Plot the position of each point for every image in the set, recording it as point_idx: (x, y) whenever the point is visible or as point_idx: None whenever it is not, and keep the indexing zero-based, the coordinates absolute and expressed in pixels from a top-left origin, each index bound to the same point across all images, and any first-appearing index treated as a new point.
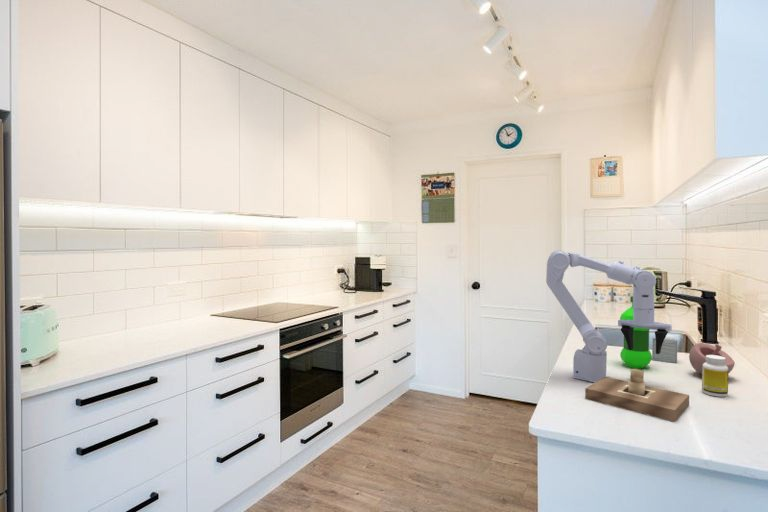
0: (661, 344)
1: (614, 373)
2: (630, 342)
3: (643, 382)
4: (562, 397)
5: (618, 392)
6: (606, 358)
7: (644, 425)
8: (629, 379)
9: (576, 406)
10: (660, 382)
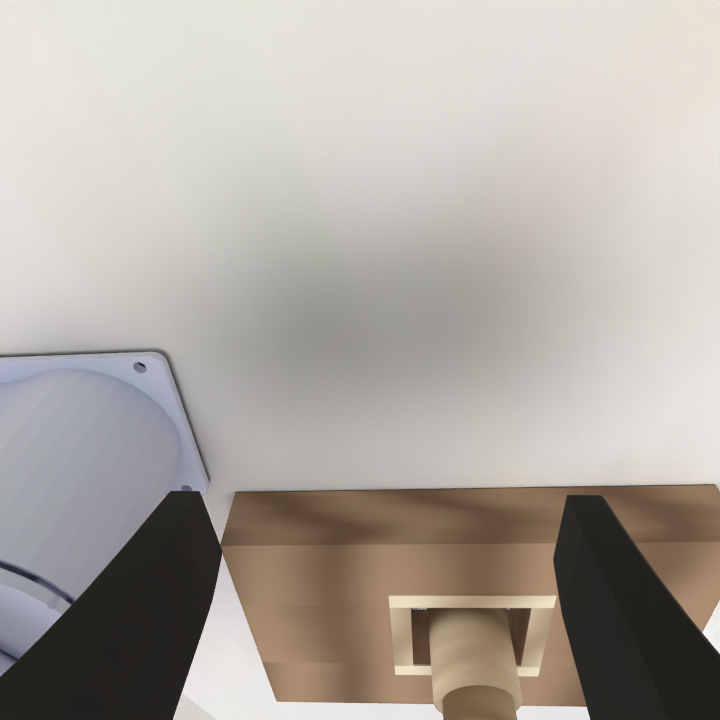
0: (679, 634)
1: (62, 166)
2: (178, 669)
3: (514, 701)
4: (222, 677)
5: (406, 678)
6: (99, 556)
7: (548, 707)
8: (435, 701)
9: (310, 703)
10: (487, 109)
